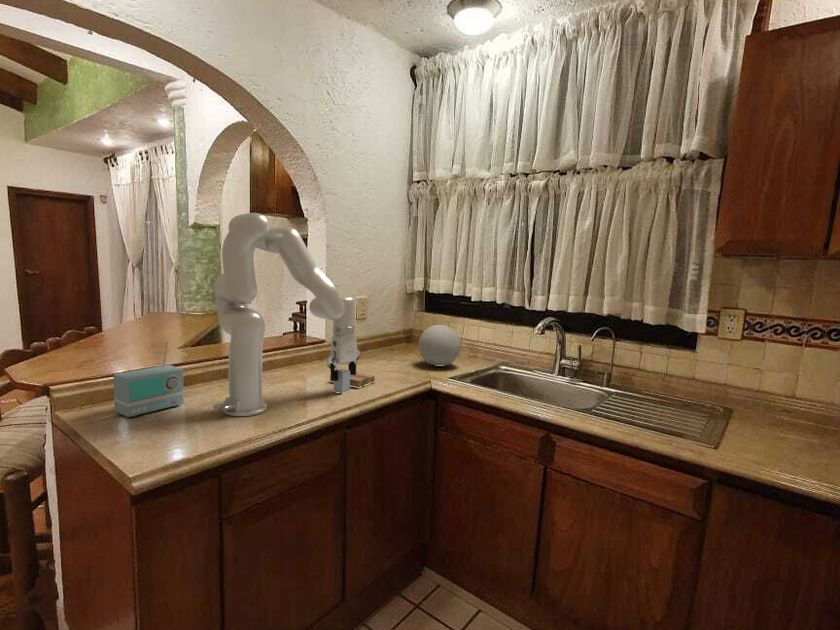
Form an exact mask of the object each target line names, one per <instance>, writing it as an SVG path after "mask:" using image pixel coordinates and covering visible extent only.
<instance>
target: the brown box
mask: <svg viewBox="0 0 840 630" xmlns="http://www.w3.org/2000/svg"><path fill="white" fill-rule="evenodd" d="M329 378H330V380H329V382H330V381H333V382H334V380H331V374H330V377H329ZM373 381H374V382H375V375H371V374H366V373H361V372H358V371H356V375H351V374H350V385H351V386H356V387H360V386H363V385H365V384H368V383H370V382H373Z"/></svg>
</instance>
